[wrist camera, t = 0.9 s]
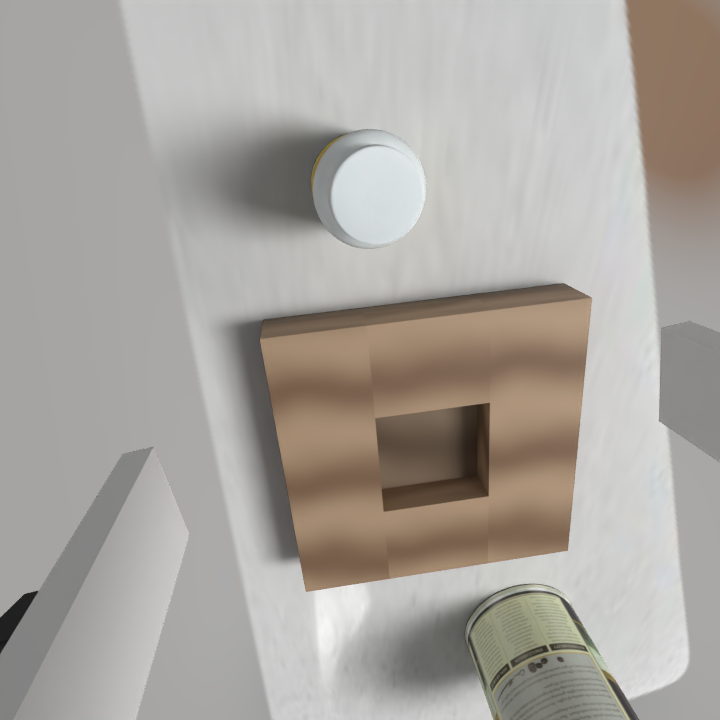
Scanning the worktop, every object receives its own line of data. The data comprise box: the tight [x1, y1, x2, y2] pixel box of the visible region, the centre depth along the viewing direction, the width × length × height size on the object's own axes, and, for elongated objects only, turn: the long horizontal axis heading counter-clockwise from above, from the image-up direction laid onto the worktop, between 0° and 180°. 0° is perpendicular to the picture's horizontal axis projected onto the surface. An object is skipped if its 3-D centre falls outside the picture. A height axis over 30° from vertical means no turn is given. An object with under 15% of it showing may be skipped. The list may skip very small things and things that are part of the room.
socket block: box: [260, 284, 592, 592], centre depth 35 cm, size 20×20×4 cm
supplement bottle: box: [311, 129, 426, 249], centre depth 25 cm, size 5×5×10 cm
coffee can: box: [465, 584, 639, 720], centre depth 40 cm, size 10×10×14 cm
